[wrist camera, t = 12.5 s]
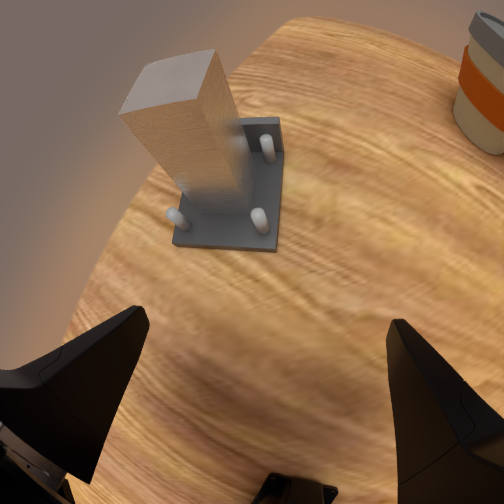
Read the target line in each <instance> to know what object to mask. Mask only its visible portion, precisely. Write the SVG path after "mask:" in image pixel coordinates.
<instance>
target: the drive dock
mask: <svg viewBox="0 0 504 504" xmlns="http://www.w3.org/2000/svg"><path fill="white" fill-rule="evenodd" d="M240 120H241V124H242V127H243V130H244V133H245V136H246V139H247V142H248V145H249V148H250V151H251V155H252V158H253V161H254V164H255V167H256V176H255V184H254V193H253V201H252V210H251V215H248V214H201V213H200V211H199V210H198V209H197V208H196V207H195V206H194V205H193V203H192V202H191V201H190V200H189V199H188V198H187V196H186V195H185V194H184V193H183V192H182V196H181V201H180V205H179V210H177V209H176V208H175V207H170V208H169V209H168V210H167V211H166V217H167V218H168V219H169V220H171V221H172V222H173V223H174V224H175V229H174V234H173V239H172V244H174V245H175V246H177V247H194V248H211V249H228V250H245V251H263V252H277V242H278V230H279V218H280V205H281V192H282V178H283V164H284V146H283V139H282V132H281V125H280V119H279V117H253V118H240Z"/></svg>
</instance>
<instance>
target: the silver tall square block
mask: <svg viewBox="0 0 504 504" xmlns="http://www.w3.org/2000/svg"><path fill="white" fill-rule="evenodd" d="M118 116H119V117H120V118H121V119H122V121H123V122H124V123H125V124H126V125H127V127H128V128H129V129H130V130H131V131H132V133H133V134H134V135H135V136H136V137H137V139H138V140H139V141H140V142H141V143H142V145H143V146H144V147H145V148H146V149H147V150H148V152H149V153H150V154H151V155H152V156H153V158H154V159H155V160H156V161H157V162H158V164H159V165H160V166H161V167H162V168H163V169H164V171H165V172H166V173H167V174H168V175H169V176H170V178H171V179H172V180H173V181H174V182H175V183H176V185H177V186H178V187H179V188H180V189H181V191H182V192H183V193H184V194H185V195H186V196H187V198H188V199H189V200H190V201H191V202H192V203H193V205H194V206H195V207H196V208H197V209H198V210H199V211H200V213H201V214H248V215H251V210H252V201H253V193H254V184H255V176H256V167H255V164H254V161H253V158H252V155H251V151H250V148H249V145H248V142H247V139H246V136H245V133H244V130H243V127H242V124H241V120H240V117H239V114H238V111H237V108H236V105H235V102H234V99H233V96H232V93H231V90H230V88H229V85H228V82H227V79H226V76H225V73H224V70H223V67H222V64H221V62H220V59H219V56H218V53H217V50H216V49H210V50H204V51H199V52H194V53H189V54H184V55H179V56H175V57H171V58H167V59H163V60H160V61H156V62H152V63H149V64H146V66H145V67H144V69H143V71H142V72H141V74H140V75H139V77H138V79H137V81H136V82H135V84H134V86H133V87H132V89H131V91H130V93H129V95H128V96H127V98H126V100H125V102H124V104H123V106H122V108H121V110H120V112H119V114H118Z"/></svg>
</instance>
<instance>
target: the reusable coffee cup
mask: <svg viewBox="0 0 504 504" xmlns="http://www.w3.org/2000/svg"><path fill="white" fill-rule="evenodd" d="M469 32H470V34H471V35H470V41H469V45H467V46H466V47H465V49H464V55H463V59H462V64H461V69H460V73H459V77H458V79H459V84H460V86H459V90H458V93H457V97H456V100H455V104H454V107H453V115H454V118H455V120H456V122H457V124H458V126H459V127H460V129H461V130H462V131H463V133H464V134H465V135H466V136H467V137H468V139H469V140H471V141H472V142H473V143H474V144H475V145H476V146H477V147H479V148H480V149H482V150H483V151H485V152H487V153H489V154H492V155H500V154H502V153H503V152H504V22H503V21H502V20H500V19H498V18H497V17H495V16H493V15H491V14H489V13H486V12H484V11H479V10H478V11H476V13H475V15H474V18H473V20H472V22H471V24H470V26H469Z"/></svg>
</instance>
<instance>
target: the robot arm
mask: <svg viewBox="0 0 504 504" xmlns="http://www.w3.org/2000/svg"><path fill="white" fill-rule="evenodd" d="M149 326H150V323H149V320H148V317H147V315H146V312H145V310H144V308H143V307H142V306H136V305H133V306H131V307H129V308H127V309H126V310H124V311H122V312H120V313H119V314H117V315H115V316H113V317H111V318H110V319H108V320H106V321H104V322H103V323H101V324H99V325H97V326H96V327H94V328H92V329H90V330H89V331H87V332H85V333H83V334H82V335H80V336H78V337H76V338H75V339H73V340H71V341H69V342H68V343H66V344H64V345H62V346H60V347H59V348H57V349H56V350H53V351H52V352H50V353H48V354H46V355H44V356H42V357H40V358H38V359H36V360H34V361H32V362H30V363H28V364H26V365H24V366H21V367H20V368H17V369H14V370H1V369H0V504H75V501H74V498H73V495H72V492H71V489H70V485H69V482H68V480H67V479H65V476H66V474H67V472H68V473H69V474H71V475H73V476H75V477H76V478H78V479H80V480H82V481H83V482H85V483H87V484H90V483H91V480H92V477H93V474H94V471H95V468H96V465H97V462H98V460H99V457H100V454H101V451H102V449H103V446H104V443H105V440H106V437H107V435H108V432H109V430H110V427H111V424H112V422H113V419H114V417H115V414H116V412H117V409H118V407H119V404H120V402H121V400H122V397H123V395H124V392H125V390H126V388H127V385H128V383H129V381H130V378H131V376H132V374H133V371H134V369H135V367H136V365H137V362H138V360H139V357H140V354H141V351H142V348H143V345H144V342H145V339H146V336H147V333H148V330H149ZM386 348H387V363H388V381H389V388H390V395H391V402H392V410H393V419H394V428H395V439H396V452H397V473H398V504H504V419H503V418H502V417H501V416H500V415H499V414H498V413H497V412H496V411H495V410H494V409H493V408H491V407H490V406H489V405H488V404H487V403H486V402H485V401H484V400H483V399H482V398H481V397H480V396H479V395H478V394H477V393H476V392H475V391H474V390H473V389H472V388H471V387H470V386H469V384H468V383H467V382H466V381H464V379H463V378H462V377H461V376H460V375H459V374H458V373H457V372H456V371H455V370H454V369H453V367H452V366H451V365H450V364H449V363H448V362H447V361H446V360H445V359H444V358H443V357H442V356H441V355H440V354H439V353H438V352H437V351H436V350H435V349H434V348H433V347H432V346H431V345H430V344H429V343H428V342H427V341H426V340H425V339H424V338H423V337H422V336H421V335H420V334H419V333H418V332H417V331H416V330H415V329H414V328H413V327H412V326H411V325H410V324H409V323H408V322H407V321H406V320H404V319H393V320H392V321H391V324H390V327H389V331H388V334H387V337H386ZM271 477H275V478H276V479H271ZM332 491H335V492H334V493H330V492H332ZM337 495H338V489H337V488H336V487H331V486H326V485H322V484H320V483H316V482H311V481H307V480H303V479H299V478H291V477H287V476H284V475H280V474H277V473H270V474H269V475H268V476H267V478H266V480H265V482H264V483H263V485H262V487H261V488H260V490H259V492H258V494H257V495H256V497H255V498H254V500H253V502H252V503H251V504H331V503H332V502H333V500H334V499H335V497H336V496H337Z"/></svg>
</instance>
